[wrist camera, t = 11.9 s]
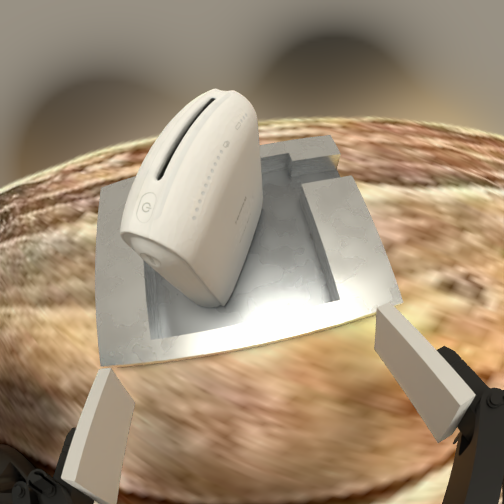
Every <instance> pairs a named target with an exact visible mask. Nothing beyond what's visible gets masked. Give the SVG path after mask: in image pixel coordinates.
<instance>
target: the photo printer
mask: <svg viewBox="0 0 504 504" xmlns="http://www.w3.org/2000/svg"><path fill="white" fill-rule="evenodd" d="M262 203H263V190H262V173H261V158H260V145H259V133H258V121H257V115H256V112H255V110H254V108H253V106H252V105H251V103H250V102H249V101H248V100H247V99H246V98H245V97H244V96H242V95H241V94H239V93H238V92H236V91H234V90H233V91H221V90H218V89H213V90H210V91H208V92H206V93H203V94H202V95H200V96H198V97H197V98H195V99H194V100H192V101H191V102H190V103H189V104H187V105H186V106H185V107H184V108H183V109H182V110H181V111H180V112H179V113H178V114H177V115H176V116H175V117H174V118H173V119H172V120H171V121H170V122H169V124H168V125H167V126H166V127H165V128H164V130H163V131H162V132H161V134H160V135H159V136H158V138H157V139H156V141H155V143H154V144H153V146H152V147H151V149H150V151H149V152H148V154H147V156H146V157H145V159H144V161H143V163H142V165H141V167H140V169H139V171H138V173H137V175H136V178H135V180H134V182H133V184H132V187H131V190H130V192H129V195H128V198H127V201H126V204H125V208H124V211H123V216H122V221H121V228H120V235H121V238H122V240H123V241H124V242H125V243H126V244H127V245H128V246H129V247H131V248H132V249H133V250H134V251H135V252H136V253H137V254H138V255H139V256H140V257H141V258H142V259H143V260H144V261H145V262H146V263H147V264H149V265H150V266H151V267H152V268H153V269H154V270H155V271H156V272H158V273H159V274H160V275H161V276H162V277H163V278H165V279H166V280H167V281H168V282H169V283H171V284H172V285H173V286H174V287H175V288H177V289H178V290H179V291H180V292H182V293H183V294H184V295H185V296H187V297H188V298H189V299H190V300H192V301H193V302H194V303H196V304H197V305H199V306H202V307H207V308H212V307H217V306H219V305H221V306H225V304H226V303H227V301H228V300H229V298H230V296H231V294H232V292H233V290H234V288H235V285H236V283H237V280H238V278H239V275H240V273H241V270H242V267H243V265H244V262H245V259H246V256H247V254H248V251H249V248H250V245H251V242H252V239H253V236H254V233H255V230H256V227H257V224H258V221H259V217H260V214H261V209H262Z"/></svg>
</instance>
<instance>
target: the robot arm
mask: <svg viewBox="0 0 504 504" xmlns="http://www.w3.org/2000/svg"><path fill="white" fill-rule="evenodd" d="M374 349H375V351H376V352H377V354H378V355H379V356H380V358H381V359H382V361H383V362H384V363H385V365H386V366H387V368H388V369H389V371H390V372H391V373H392V375H393V376H394V378H395V379H396V381H397V382H398V383H399V385H400V386H401V388H402V389H403V391H404V392H405V394H406V395H407V397H408V398H409V400H410V401H411V403H412V404H413V406H414V407H415V408H416V410H417V411H418V413H419V415H420V416H421V418H422V419H423V421H424V422H425V424H426V425H427V427H428V428H429V430H430V431H431V433H432V434H433V436H434V438H435V439H436V441H437V442H438V443H439V442H441V441H442V440H444V439H446V438H447V437H449V436H450V435H452V434H453V432H454V431H455V429H456V428H457V427H458V429H459V430H460V432H459V434H458V435H457V437H456V438H455V439H454V442H453V444H455V443H456V442H457V441H458V443H457V448H456V453H455V458H454V463H453V467H452V471H451V475H450V479H449V483H448V486H447V490H446V493H445V496H444V499H443V502H442V504H498V502H499V497H500V492H501V488H502V491H503V501H502V504H504V390H501V389H498V388H489V387H488V386H487V385H486V384H485V383H484V382H483V381H482V380H481V379H480V378H479V377H478V376H477V374H476V373H475V372H474V371H473V370H472V369H471V368H470V367H469V366H467V364H466V363H465V362H464V361H463V360H461V357H460V356H459V355H458V354H457V353H456V352H455V351H453V350H451V349H449V348H447V347H445V346H443V347H442V348H440V349H438V350H436V349H435V348H434V347H433V346H432V345H431V344H430V343H429V342H428V341H427V340H426V339H425V338H424V337H423V335H422V334H421V333H420V332H419V331H418V330H417V329H416V328H415V327H414V326H413V325H412V324H411V323H410V322H409V321H408V320H407V319H406V318H405V317H404V316H403V315H402V314H401V313H400V312H399V311H398V310H397V309H396V308H395V307H394V306H393V305H392V304H391V303H390V302H389V303H387V304H384V305H381V306H378V307H377V309H376V332H375V347H374ZM134 406H135V402H134V400H133V399H132V398H131V396H130V395H129V393H128V392H127V391H126V389H125V388H124V386H123V385H122V384H121V382H120V381H119V379H118V378H117V376H116V375H115V373H114V372H113V370H112V369H111V368H105V369H99V371H98V373H97V376H96V378H95V380H94V383H93V385H92V388H91V390H90V393H89V395H88V398H87V400H86V403H85V406H84V408H83V411H82V414H81V416H80V419H79V422H78V425H77V428H72V429H71V431H70V432H69V433H68V435H67V436H66V439H65V442H64V446H63V448H62V453H61V454H60V457H59V460H58V464H57V467H56V470H55V474H54V477H53V478H52V477H51V476H50V475H48V474H47V473H46V472H44V471H43V470H41V469H36V468H35V467H34V466H33V465H32V464H31V463H30V462H29V461H28V460H27V459H26V458H25V457H24V456H23V455H22V454H21V453H19V452H18V451H17V450H15V449H14V448H12V447H10V446H8V445H5V444H0V504H94V500H95V501H96V502H98V503H100V504H117V497H118V490H119V483H120V477H121V471H122V465H123V460H124V454H125V449H126V444H127V439H128V434H129V429H130V424H131V420H132V415H133V411H134Z"/></svg>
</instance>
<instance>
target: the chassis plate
mask: <svg viewBox="0 0 504 504" xmlns="http://www.w3.org/2000/svg"><path fill="white" fill-rule="evenodd" d="M340 155H341V154H340V152H339V150H338V148H337V146H336V144H335V143H334V141H333V139H332V137H331V135H327V136H318V137H310V138H303V139H296V140H289V141H283V142H277V143H271V144H265V145H260V158H261V173H262V190H263V203H262V209H261V214H260V217H259V221H258V224H257V227H256V230H255V233H254V236H253V239H252V242H251V245H250V248H249V251H248V254H247V256H246V259H245V262H244V265H243V267H242V270H241V273H240V275H239V278H238V280H237V283H236V285H235V288H234V290H233V292H232V294H231V296H230V298H229V300H228V301H227V303H226V304H225V306H221V305H219V306H217V307H212V308H207V307H202V306H199V305H197V304H196V303H194V302H193V301H192V300H190V299H189V298H188V297H187V296H185V295H184V294H183V293H182V292H180V291H179V290H178V289H177V288H175V287H174V286H173V285H172V284H171V283H169V282H168V281H167V280H166V279H165V278H163V277H162V276H161V275H160V274H159V273H158V272H156V271H155V270H154V269H153V268H152V267H151V266H150V265H149V264H147V263H146V262H145V261H144V260H143V259H142V258H141V257H140V256H139V255H138V254H137V253H136V252H135V251H134V250H133V249H132V248H131V247H129V246H128V245H127V244H126V243H125V242H124V241H123V240H122V238H121V235H120V228H121V221H122V216H123V211H124V208H125V204H126V201H127V198H128V195H129V192H130V190H131V187H132V184H133V182H134V180H135V178H136V176H135V177H132V178H129V179H125V180H122V181H119V182H116V183H113V184H111V185H108V186H105V187H102V188H101V193H100V201H99V211H98V222H97V237H96V260H95V297H96V320H97V335H98V346H99V355H100V364H101V366H103V367H117V368H118V367H129V366H140V365H149V364H158V363H166V362H173V361H181V360H187V359H194V358H200V357H206V356H212V355H218V354H224V353H229V352H234V351H239V350H244V349H249V348H254V347H259V346H263V345H268V344H272V343H277V342H281V341H285V340H289V339H293V338H297V337H301V336H305V335H309V334H313V333H316V332H320V331H324V330H327V329H331V328H334V327H338V326H341V325H345V324H348V323H351V322H354V321H358V320H361V319H364V318H367V317H370V316H373V315H376V309H377V307H378V306H381V305H384V304H387V303H389V302H390V303H391V304H392V305H393V306H394V307H396V306H398V305H400V304H401V303H403V300H402V297H401V294H400V291H399V288H398V285H397V282H396V279H395V276H394V273H393V271H392V268H391V265H390V262H389V260H388V257H387V254H386V252H385V249H384V247H383V244H382V242H381V239H380V237H379V234H378V232H377V229H376V227H375V225H374V222H373V220H372V218H371V215H370V213H369V211H368V209H367V206H366V204H365V202H364V200H363V198H362V196H361V193H360V191H359V189H358V187H357V185H356V183H355V181H354V179H353V177H352V176H346V177H340V176H339V174H338V172H337V166H338V162H339V159H340Z"/></svg>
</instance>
